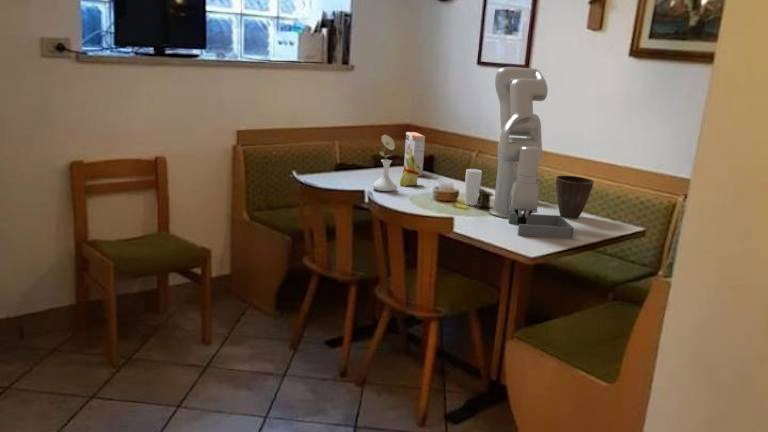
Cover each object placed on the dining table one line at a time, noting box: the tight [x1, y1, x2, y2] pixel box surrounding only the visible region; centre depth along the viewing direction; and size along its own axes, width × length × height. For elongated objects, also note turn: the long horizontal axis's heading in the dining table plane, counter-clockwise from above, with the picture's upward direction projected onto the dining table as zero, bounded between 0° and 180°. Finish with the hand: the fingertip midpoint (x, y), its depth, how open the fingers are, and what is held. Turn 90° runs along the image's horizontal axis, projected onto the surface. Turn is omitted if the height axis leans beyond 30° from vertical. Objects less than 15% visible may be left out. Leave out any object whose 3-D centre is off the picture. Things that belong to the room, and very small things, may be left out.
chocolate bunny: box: [399, 154, 420, 187], centre depth 316 cm, size 7×11×15 cm, turn 124°
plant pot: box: [555, 175, 594, 220], centre depth 274 cm, size 15×15×16 cm
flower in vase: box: [372, 134, 398, 192], centre depth 300 cm, size 13×11×25 cm
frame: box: [508, 212, 575, 239], centre depth 251 cm, size 20×18×4 cm
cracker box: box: [403, 131, 426, 177], centre depth 344 cm, size 14×6×21 cm, turn 17°
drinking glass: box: [464, 168, 483, 207], centre depth 284 cm, size 7×7×15 cm
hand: (520, 226), depth 251 cm, fingers closed
